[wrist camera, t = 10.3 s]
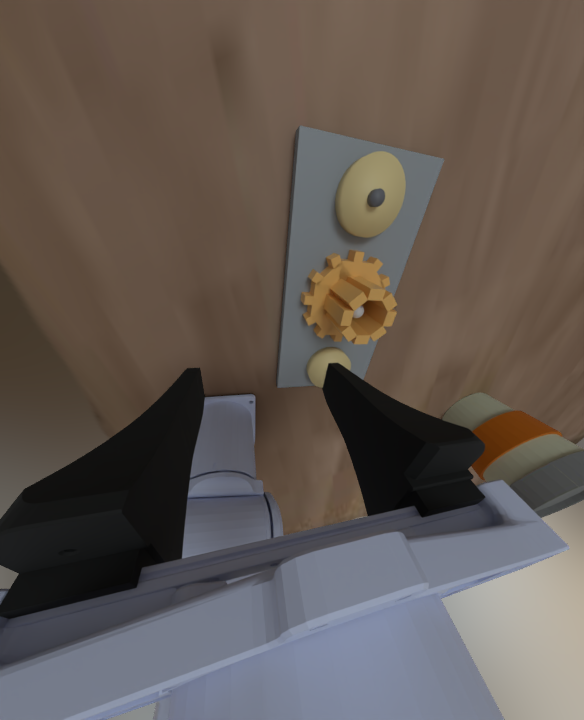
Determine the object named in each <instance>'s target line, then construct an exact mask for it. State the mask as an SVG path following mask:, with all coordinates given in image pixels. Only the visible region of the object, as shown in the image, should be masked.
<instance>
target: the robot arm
mask: <svg viewBox="0 0 584 720" xmlns="http://www.w3.org/2000/svg"><path fill="white" fill-rule="evenodd" d="M322 389H323V393H324V396H325V399H326V402H327V405H328V407H329V409H330V411H331V413H332V415H333V417H334V419H335V421H336V423H337V425H338V427H339V430H340V432H341V434H342V436H343V438H344V440H345V443H346V446H347V449H348V451H349V454H350V457H351V460H352V463H353V466H354V469H355V472H356V475H357V478H358V482H359V485H360V488H361V492H362V495H363V499H364V503H365V507H366V511H367V514H368V516H367V517H363V518H359V519H354V520H350V521H345V522H341V523H336V524H332V525H328V526H323V527H319V528H314V529H310V530H306V531H301V532H297V533H292V534H288V535H284V536H283V525H282V518H281V513H280V509H279V507H278V504H277V502H276V501H275V499H274V497H273V496H272V495H271V493H269V492H264V491H263V481H262V480H256V466H255V452H254V443H255V395H253V394H246V395H231V396H217V397H205V395H204V389H203V383H202V377H201V371H200V368H187V369H186V370H185V371H184V372H183V373H182V375H181V376H180V377H179V378H178V379H177V380H176V381H175V382H174V384H173V385H172V386H171V387H170V388H169V389H168V390H167V391H166V392H165V393H164V394H163V395H162V396H161V397H160V398H159V399H158V400H157V401H156V402H155V403H154V404H153V405H152V406H151V407H150V408H149V409H148V410H146V411H145V412H144V413H143V414H142V415H141V416H140V417H138V418H137V419H136V420H135V421H133V422H132V423H131V424H130V425H128V426H127V427H126V428H124V429H123V430H121V431H120V432H119V433H117V434H116V435H114V436H113V437H111V438H110V439H109V440H107V441H106V442H105V443H103V444H102V445H100V446H98V447H97V448H95V449H94V450H92V451H91V452H89V453H87V454H86V455H84V456H82V457H81V458H79V459H77V460H76V461H74V462H72V463H71V464H69V465H67V466H66V467H64V468H62V469H60V470H58V471H57V472H55V473H53V474H51V475H49V476H47V477H46V478H44V479H42V480H40V481H38V482H37V483H35V484H33V485H31V486H29V487H27V488H25V489H24V490H23V492H22V493H21V494H20V495H19V496H18V497H17V499H16V500H15V501H14V503H13V504H12V505H11V506H10V508H9V509H8V510H7V512H6V513H5V514H4V515H3V517H2V518H1V519H0V565H1V566H4V567H6V568H8V569H10V570H13V571H15V572H17V573H19V575H18V576H17V578H16V580H15V581H14V583H13V584H12V586H11V588H10V589H0V720H107V719H109V718H112V717H115V716H118V715H120V714H124V713H126V712H129V711H132V710H135V709H138V708H141V707H144V706H146V705H149V704H152V703H155V702H156V706H155V712H154V717H153V720H505V719H504V718H503V716H502V714H501V712H500V710H499V708H498V706H497V704H496V703H495V701H494V699H493V697H492V695H491V693H490V691H489V689H488V687H487V686H486V684H485V682H484V680H483V678H482V676H481V674H480V672H479V671H478V668H477V667H476V665H475V663H474V661H473V659H472V657H471V655H470V653H469V651H468V650H467V648H466V646H465V644H464V642H463V640H462V638H461V636H460V634H459V633H458V631H457V629H456V627H455V625H454V623H453V621H452V619H451V618H450V616H449V614H448V612H447V610H446V608H445V606H444V604H443V602H442V600H441V599H442V598H444V597H447V596H450V595H452V594H455V593H458V592H460V591H463V590H466V589H468V588H471V587H474V586H476V585H479V584H482V583H484V582H487V581H490V580H493V579H495V578H498V577H501V576H503V575H506V574H509V573H512V572H514V571H517V570H520V569H523V568H525V567H527V566H530V565H532V564H535V563H537V562H539V561H542V560H544V559H547V558H549V557H552V556H554V555H556V554H559V553H561V552H564V551H566V550H568V549H569V546H568V545H567V544H566V543H565V542H564V541H563V540H562V539H561V538H560V537H559V536H558V535H557V534H556V533H555V532H554V531H553V530H552V529H551V528H550V527H549V526H548V525H547V524H546V523H545V522H544V521H543V520H542V519H541V518H540V517H539V516H538V515H537V514H536V513H535V512H534V511H533V510H532V509H531V508H530V507H529V506H528V505H527V504H526V503H525V502H524V501H523V500H522V499H521V498H520V497H519V496H518V495H517V494H516V493H515V492H514V491H513V490H512V489H511V488H510V487H509V486H508V485H507V484H506V483H505V482H504V481H503V480H501V479H498V480H494V481H489V482H484V483H481V484H479V485H477V486H475V484H474V483H473V482H472V481H471V480H470V479H473V475H472V474H471V473H470V472H469V470H468V468H469V467H470V466H471V465H472V464H473V463H474V462H475V461H476V460H477V459H478V458H479V457H480V456H481V455H482V454H483V452H484V450H485V444H484V443H483V441H481V440H480V439H479V438H478V437H477V436H476V435H475V434H474V433H473V432H472V431H471V430H470V429H468V428H466V427H463V426H459V425H456V424H453V423H450V422H447V421H444V420H441V419H438V418H436V417H433V416H430V415H428V414H425V413H423V412H420V411H418V410H416V409H413V408H411V407H409V406H407V405H405V404H403V403H401V402H399V401H397V400H395V399H393V398H391V397H389V396H387V395H386V394H384V393H382V392H381V391H379V390H377V389H376V388H374V387H373V386H371V385H370V384H368V383H367V382H365V381H364V380H362V379H361V378H359V377H358V376H357V375H355V374H354V373H352V372H351V371H350V370H348V369H347V368H345V367H344V366H343V365H341V364H339V363H328V367H327V372H326V376H325V380H324V384H323V388H322Z"/></svg>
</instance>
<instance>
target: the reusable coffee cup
mask: <svg viewBox="0 0 584 720" xmlns="http://www.w3.org/2000/svg"><path fill="white" fill-rule="evenodd" d="M442 420H444V421H447V422H450V423H453V424H456V425H459V426H463V427H466V428H468V429H470V430H471V431H472V432H473V433H474V434H475V435H476V436H477V437H478V438H479V439H480V440H481V441H483V443H484V444H485V450H484V452H483V454H482V455H481V456H480V457H479V458H478V459H477V460H476V461H475V462H474V463H473V464H472V465H471V466H472V468H473V469H474V470H475V472H476V473H477V474H478V476H479V477H480V478H481V479H482V480H486V481H487V482H489V481H494V480H498V479H501V480H503V481H504V482H505V483H506V484H507V485H508V486H509V487H510V488H511V489H512V490H513V491H514V492H515V493H516V494H517V495H518V496H519V497H520V498H521V499H522V500H523V501H524V502H525V503H526V504H527V505H528V506H529V507H530V508H531V509H532V510H533V511H534V512H535V513H536V514H537V515H538V516H539V517H540V518H542V517H544V516H547V515H550V514H552V513H555V512H557V511H560V510H562V509H564V508H567V507H569V506H571V505H573V504H576V503H578V502H580V501H582V500H584V449H582V448H580V447H579V446H577V445H575V444H573V443H572V442H570V441H568V440H566V439H565V438H563V437H562V434H561V433H560V432H558V431H557V430H555V429H553V428H551V427H549V426H548V425H546V424H544V423H542V422H540V421H539V420H537V419H535V418H533V417H531V416H530V415H528V414H526V413H524V412H522V411H515V410H513V409H512V408H510V407H508V406H506V405H505V404H503V403H501V402H499V401H497V400H496V399H494V398H492V397H490V396H489V395H487V394H485V393H476V394H472V395H469V396H467V397H465V398H463V399H461V400H459V401H458V402H456V403H455V404H454V405H453V406H451V407H450V408H449V409H448V410H447V411H446V413H445V414H444V416H443V418H442Z"/></svg>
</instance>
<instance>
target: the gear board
mask: <svg viewBox="0 0 584 720" xmlns="http://www.w3.org/2000/svg"><path fill="white" fill-rule="evenodd" d="M443 161H444V159H442V158H437V157H433V156H429V155H425V154H420V153H416V152H412V151H407V150H403V149H399V148H394V147H390V146H386V145H382V144H377V143H373V142H369V141H364V140H360V139H356V138H351V137H347V136H343V135H338V134H334V133H330V132H326V131H321V130H317V129H313V128H308V127H304V126H299V127H298V129H297V130H296V138H295V151H294V164H293V177H292V189H291V202H290V215H289V227H288V240H287V253H286V265H285V278H284V291H283V303H282V316H281V329H280V341H279V354H278V367H277V379H276V383H277V388H283V387H299V386H317V387H321V388H323V384H324V380H325V376H326V372H327V367H328V363H339V364H341V365H343V366H344V367H345V368H347V369H348V370H350V371H351V372H352V373H354V374H355V375H357V376H358V377H359V378H361V379H362V380H363V379H364V376H365V374H366V371H367V368H368V366H369V363H370V360H371V357H372V355H373V352H374V349H375V346H376V344H377V341H378V339H377V340H376V341H373V340H372V339H370V338H369V341H368V344H353V343H352V341H350V342H348V341H347V339H346V338H345V337H344V336H343V337H342V341H341V342H334V341H333V339H332V338H331V337H330V335H325V336H324V337H323V339H322V338H321V337H319V336H317V335H316V333H315V332H314V330H313V329H314V328H315V327H316V325H317V323H316V322H315V323H313V324H311V325H309V326H308V324H307V322H306V321H305V319H304V316H303V314H304V313H306V312H307V307H308V305H304V304H303V303H302V301H301V293H302V292H310V287H311V281H312V280H311V279H310V278H309V277H308V275H309V274H310V272H311V271H312V269H314V270H315V271H317V272H318V273H319V274H320V273H321V272H322V271H323V270H324V269H325V268H326V267H328V263H327V260H326V257H327V256H329V255H331V254H333V253H336V254H338V255H340V258H341V259H348V254H349V250H358V251H362V252H365V253H364V257H363V261H367V260H368V259H369V257H370V256H371V257H374V258H378V259H379V260H380V261H381V262H382V263H383V265H382V266H381V267H380V269H379V270H378V271H377V273H378V275H380V274H383V275H386V276H388V277H389V280H390V285H389V286H387V287H385V289H386V291H388V292H390V293H392V295H393V297H394V295H395V292H396V289H397V287H398V284H399V281H400V278H401V276H402V273H403V270H404V268H405V265H406V262H407V259H408V257H409V254H410V251H411V249H412V246H413V243H414V240H415V238H416V235H417V232H418V229H419V227H420V224H421V221H422V219H423V216H424V213H425V210H426V208H427V205H428V202H429V200H430V197H431V194H432V191H433V189H434V186H435V183H436V180H437V178H438V175H439V172H440V170H441V167H442V164H443ZM363 313H364V308H363V306H362V305H361V306H360V307H359V308H357V309H356V310H355V311H354V314H353V318H360V317H361V316H362V315H363Z"/></svg>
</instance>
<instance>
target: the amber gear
mask: <svg viewBox="0 0 584 720" xmlns="http://www.w3.org/2000/svg"><path fill="white" fill-rule="evenodd" d="M364 253H365V252H362V251H358V250H349V254H348V259H341V258H340V255H338V254H336V253H333V254H331V255H329V256H327V257H326V260H327V263H328V267H326V268H325V269H324V270H323V271H322V272H321V273H320V274H319V273H318V272H317V271H315V270H314V269H312V271H311V272H310V274H309V275H308V277H309V278H310V279H311V280H312V281H311V287H310V292H302V293H301V301H302V303H303V304H304V305H308V307H307V312H306V313H304V314H303V316H304V319H305V321H306V322H307V324H308V326H309V325H311V324H313V323H315V322H316V323H317V325H316V327H315V328H314V329H313V330H314V332H315V333H316V335H317V336H319V337H321V338H322V339H323V337H324V336H325V335H330V337H331V338H332V339H333V341H334V342H341V341H342V337H343V336H344V337H345V338H346V339H347V341H348V342H350V341H352V343H353V344H368V341H369V338H370V339H372V340H373V341H376V340H377V339H378V338H380V337H381V336H382V335H384V334H385V333H386V330H385V329H384V327H383V326H392V324H393V321H394V318H395V316H396V313H397V312H396V311H395V310H393V308H394V307H395V306H397V303H396V301H395V299H394V297H393V295H392V293H390V292H388V291H386V289H385V287H387V286H389V285H390V280H389V277H388V276H386V275H383V274H380V275H378V273H377V271H378V270H379V269H380V267H381V266H382V265H383V263H382V262H381V261H380V260H379V259H378V258H374V257H371V256H370V257H369V259H368V260H367V261H363V257H364ZM361 305H362V306H363V308H364V313H363V315H362V316H361V317H360V318H353V314H354V311H355V310H356V309H357V308H359V307H360V306H361Z"/></svg>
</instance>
